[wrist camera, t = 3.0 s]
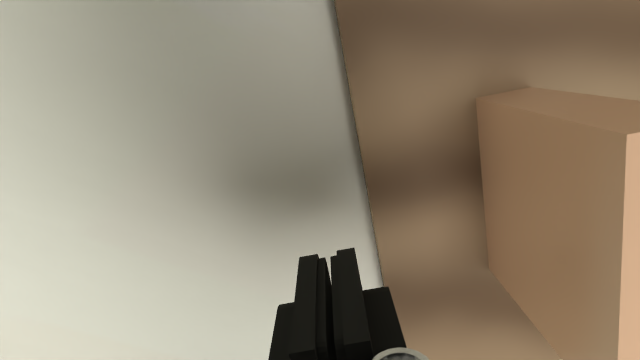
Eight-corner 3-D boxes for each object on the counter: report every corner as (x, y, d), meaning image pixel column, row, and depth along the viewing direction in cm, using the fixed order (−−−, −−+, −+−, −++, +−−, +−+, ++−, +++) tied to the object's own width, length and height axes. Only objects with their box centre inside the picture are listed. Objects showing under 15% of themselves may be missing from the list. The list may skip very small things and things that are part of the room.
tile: (475, 98, 15) (626, 134, 8) (531, 86, 15) (742, 112, 8) (488, 268, 18) (614, 425, 10) (537, 260, 18) (703, 413, 10)
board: (328, -31, 15) (328, -38, 14) (896, -160, 14) (948, -180, 13) (397, 366, 21) (402, 384, 20) (800, 303, 20) (830, 318, 18)
